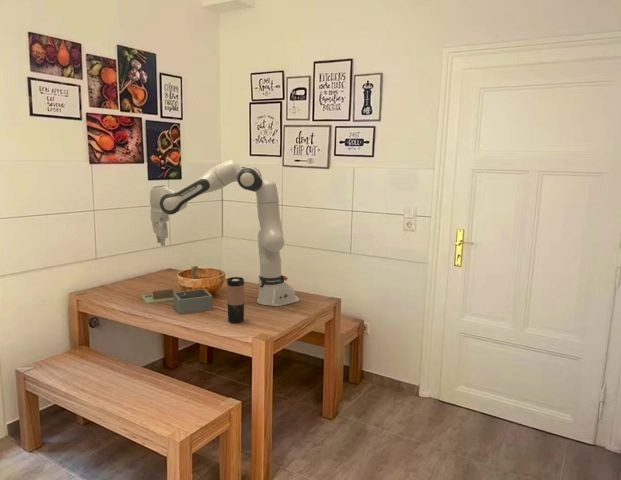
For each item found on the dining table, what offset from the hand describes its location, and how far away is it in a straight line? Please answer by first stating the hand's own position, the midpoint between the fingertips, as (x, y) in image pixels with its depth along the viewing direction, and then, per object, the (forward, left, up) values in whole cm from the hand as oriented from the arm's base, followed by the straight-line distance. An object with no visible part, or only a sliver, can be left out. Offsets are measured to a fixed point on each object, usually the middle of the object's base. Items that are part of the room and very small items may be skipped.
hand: (161, 244), depth 241 cm
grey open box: (-10, +22, -30) cm, 39 cm away
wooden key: (-16, +4, -30) cm, 34 cm away
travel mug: (-24, +46, -30) cm, 60 cm away
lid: (+2, -1, -30) cm, 30 cm away
